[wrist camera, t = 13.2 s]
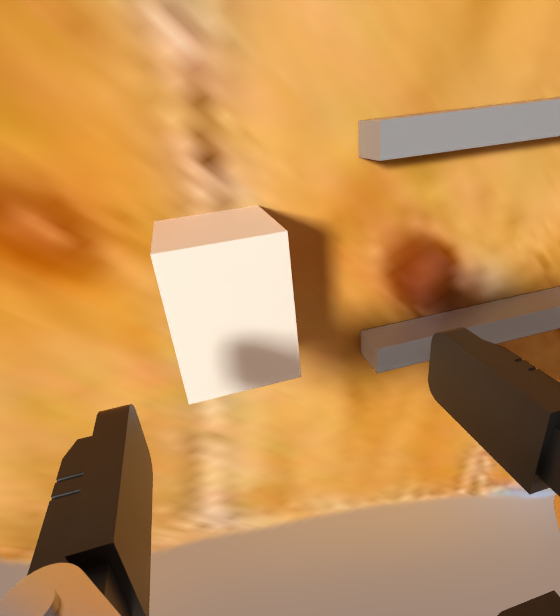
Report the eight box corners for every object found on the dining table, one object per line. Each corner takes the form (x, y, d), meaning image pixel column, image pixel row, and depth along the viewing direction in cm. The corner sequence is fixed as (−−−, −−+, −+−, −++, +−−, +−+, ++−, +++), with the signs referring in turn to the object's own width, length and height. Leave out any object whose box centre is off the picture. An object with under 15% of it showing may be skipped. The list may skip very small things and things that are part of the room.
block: (257, 204, 18) (287, 231, 13) (272, 322, 20) (301, 376, 16) (154, 220, 17) (150, 254, 13) (183, 341, 20) (189, 404, 15)
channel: (709, 79, 21) (759, 75, 19) (641, 287, 26) (675, 299, 24) (358, 120, 17) (380, 119, 15) (360, 353, 22) (377, 373, 21)
